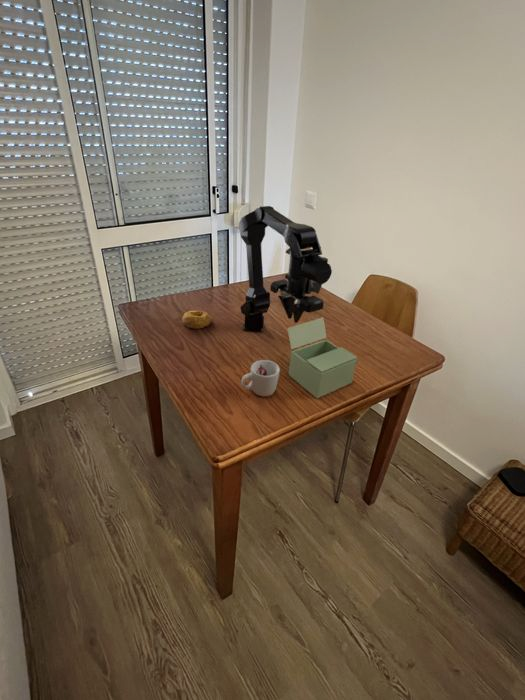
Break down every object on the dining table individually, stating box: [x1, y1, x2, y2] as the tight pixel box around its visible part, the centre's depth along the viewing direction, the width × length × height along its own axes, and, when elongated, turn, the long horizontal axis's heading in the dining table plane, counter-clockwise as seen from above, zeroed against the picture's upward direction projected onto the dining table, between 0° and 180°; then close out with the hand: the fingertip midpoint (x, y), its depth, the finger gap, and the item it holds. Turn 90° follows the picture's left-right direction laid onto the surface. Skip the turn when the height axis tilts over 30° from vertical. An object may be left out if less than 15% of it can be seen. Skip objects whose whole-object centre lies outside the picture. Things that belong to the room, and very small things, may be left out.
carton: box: [288, 339, 358, 399], centre depth 104 cm, size 13×14×9 cm
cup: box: [240, 359, 281, 397], centre depth 97 cm, size 11×8×8 cm
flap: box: [286, 317, 327, 350], centre depth 105 cm, size 6×14×1 cm
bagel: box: [181, 310, 213, 330], centre depth 130 cm, size 10×11×5 cm
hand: (293, 320), depth 109 cm, fingers open, 3 cm apart
